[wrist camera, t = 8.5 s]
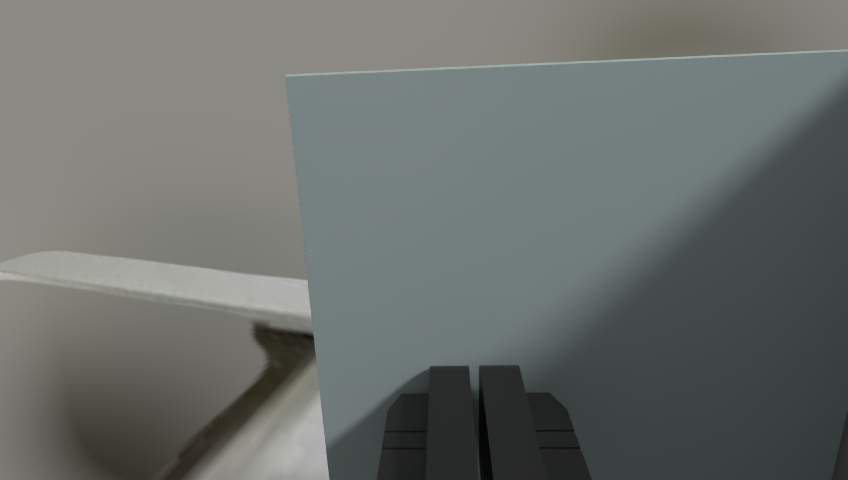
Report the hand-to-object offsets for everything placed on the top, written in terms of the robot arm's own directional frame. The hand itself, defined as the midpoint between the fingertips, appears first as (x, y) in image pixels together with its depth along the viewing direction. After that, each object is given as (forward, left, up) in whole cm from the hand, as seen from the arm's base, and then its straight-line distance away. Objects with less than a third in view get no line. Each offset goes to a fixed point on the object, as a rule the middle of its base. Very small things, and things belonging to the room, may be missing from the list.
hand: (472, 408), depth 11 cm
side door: (-3, -2, -6) cm, 7 cm away
